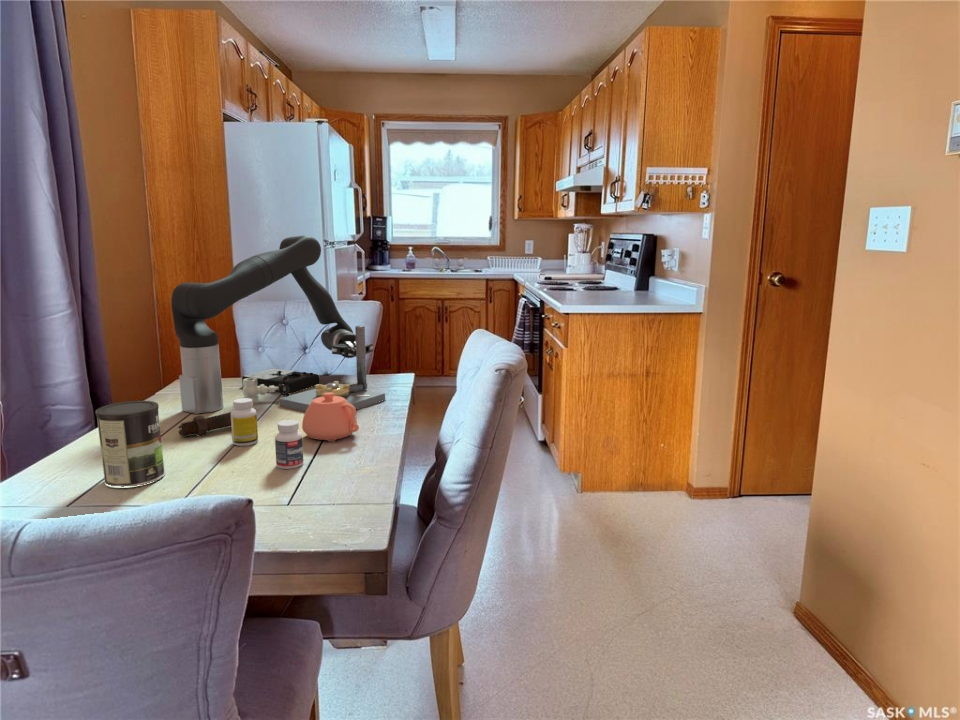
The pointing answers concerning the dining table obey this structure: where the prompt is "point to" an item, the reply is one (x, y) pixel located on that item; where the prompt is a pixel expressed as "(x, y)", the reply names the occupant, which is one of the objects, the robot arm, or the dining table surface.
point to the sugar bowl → (329, 418)
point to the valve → (263, 388)
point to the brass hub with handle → (361, 384)
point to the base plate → (355, 397)
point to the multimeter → (295, 379)
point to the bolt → (204, 424)
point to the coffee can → (130, 443)
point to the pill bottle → (289, 445)
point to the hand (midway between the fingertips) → (359, 353)
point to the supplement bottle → (244, 423)
